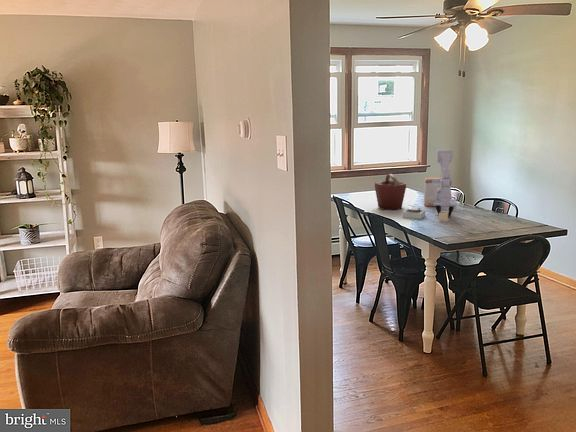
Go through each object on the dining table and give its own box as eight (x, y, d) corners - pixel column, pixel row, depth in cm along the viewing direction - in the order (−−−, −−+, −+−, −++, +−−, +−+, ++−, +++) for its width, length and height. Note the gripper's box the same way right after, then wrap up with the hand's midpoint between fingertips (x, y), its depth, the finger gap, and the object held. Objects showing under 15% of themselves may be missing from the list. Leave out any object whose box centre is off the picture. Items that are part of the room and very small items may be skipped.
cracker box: (442, 204, 358) (443, 177, 353) (444, 206, 352) (445, 178, 347) (423, 204, 359) (424, 177, 354) (424, 206, 353) (425, 178, 349)
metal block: (411, 214, 324) (411, 207, 323) (419, 215, 322) (420, 207, 321) (408, 216, 318) (408, 209, 317) (416, 217, 315) (416, 210, 314)
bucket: (405, 211, 337) (406, 176, 332) (374, 210, 342) (374, 176, 336) (404, 204, 361) (405, 172, 355) (374, 204, 365) (375, 172, 360)
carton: (441, 218, 314) (441, 210, 313) (449, 218, 312) (450, 211, 311) (438, 220, 308) (438, 213, 307) (447, 221, 305) (447, 213, 304)
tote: (407, 214, 328) (407, 208, 327) (425, 215, 322) (425, 210, 321) (402, 217, 318) (402, 211, 317) (420, 219, 312) (420, 213, 311)
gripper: (432, 197, 307) (431, 217, 310) (455, 198, 299) (454, 219, 302) (435, 195, 313) (434, 215, 315) (458, 197, 305) (456, 217, 308)
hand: (444, 217), depth 309 cm, fingers closed on carton, 5 cm apart
